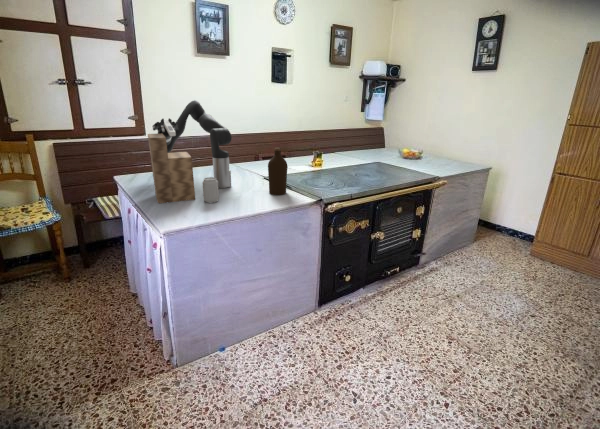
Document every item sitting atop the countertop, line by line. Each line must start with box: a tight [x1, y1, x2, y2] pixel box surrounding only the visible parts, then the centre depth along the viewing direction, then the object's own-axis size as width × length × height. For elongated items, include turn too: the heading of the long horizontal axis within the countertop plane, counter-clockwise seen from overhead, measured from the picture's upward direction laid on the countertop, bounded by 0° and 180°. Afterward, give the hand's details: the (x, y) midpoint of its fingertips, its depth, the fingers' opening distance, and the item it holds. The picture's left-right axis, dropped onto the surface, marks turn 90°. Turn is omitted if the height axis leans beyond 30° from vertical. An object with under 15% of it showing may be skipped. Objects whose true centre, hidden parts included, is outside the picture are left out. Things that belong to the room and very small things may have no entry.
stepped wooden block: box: [147, 133, 196, 204], centre depth 175 cm, size 18×16×32 cm
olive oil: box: [267, 147, 288, 196], centre depth 187 cm, size 11×11×25 cm
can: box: [202, 176, 220, 204], centre depth 173 cm, size 8×8×12 cm
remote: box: [164, 119, 176, 136], centre depth 171 cm, size 3×26×2 cm, turn 26°
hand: (166, 120), depth 177 cm, fingers closed on remote, 2 cm apart
